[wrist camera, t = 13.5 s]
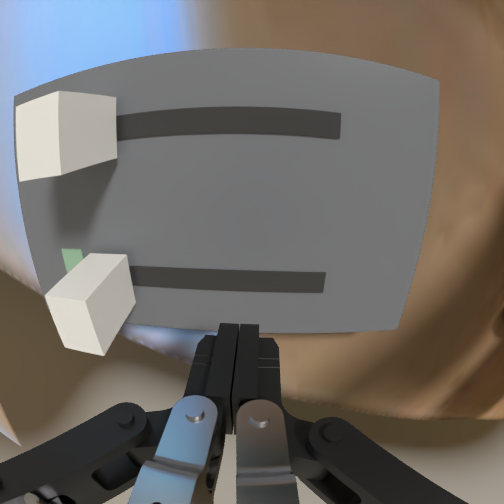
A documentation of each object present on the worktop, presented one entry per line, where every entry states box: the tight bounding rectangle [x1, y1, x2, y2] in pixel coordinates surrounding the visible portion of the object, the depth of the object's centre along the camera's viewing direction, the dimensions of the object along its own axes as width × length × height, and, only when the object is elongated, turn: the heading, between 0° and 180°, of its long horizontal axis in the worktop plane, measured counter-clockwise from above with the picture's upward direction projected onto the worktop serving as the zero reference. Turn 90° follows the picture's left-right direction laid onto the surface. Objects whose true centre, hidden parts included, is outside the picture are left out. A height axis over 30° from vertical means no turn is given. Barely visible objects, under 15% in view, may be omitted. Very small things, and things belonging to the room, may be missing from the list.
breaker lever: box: [16, 91, 117, 182], centre depth 9 cm, size 2×3×4 cm
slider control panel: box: [14, 48, 439, 333], centre depth 15 cm, size 24×15×3 cm, turn 89°
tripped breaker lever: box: [45, 253, 136, 356], centre depth 13 cm, size 2×3×4 cm
